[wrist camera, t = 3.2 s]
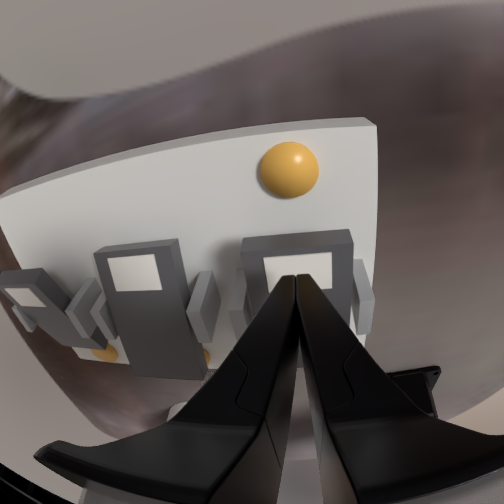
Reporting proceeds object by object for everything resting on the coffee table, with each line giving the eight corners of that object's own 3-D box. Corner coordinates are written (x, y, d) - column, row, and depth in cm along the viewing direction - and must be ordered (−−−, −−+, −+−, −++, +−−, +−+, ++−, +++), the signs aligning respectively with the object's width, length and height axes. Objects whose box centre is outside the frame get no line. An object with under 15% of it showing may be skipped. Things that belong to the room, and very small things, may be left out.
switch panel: (357, 338, 20) (367, 399, 16) (89, 340, 23) (66, 385, 19) (363, 117, 12) (401, 144, 8) (9, 188, 15) (-39, 225, 12)
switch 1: (109, 336, 18) (105, 351, 17) (66, 333, 19) (62, 346, 18) (42, 267, 13) (33, 285, 12) (2, 271, 13) (-6, 286, 13)
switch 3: (344, 348, 15) (346, 365, 14) (266, 353, 16) (265, 370, 15) (348, 228, 11) (353, 244, 10) (242, 237, 12) (239, 253, 11)
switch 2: (208, 368, 15) (203, 381, 14) (141, 364, 16) (134, 376, 15) (178, 238, 13) (169, 245, 12) (104, 246, 14) (92, 253, 13)
